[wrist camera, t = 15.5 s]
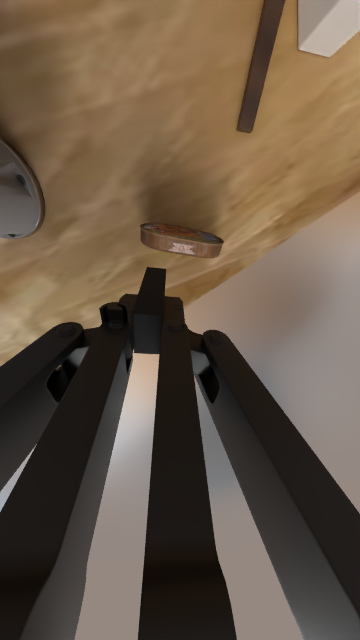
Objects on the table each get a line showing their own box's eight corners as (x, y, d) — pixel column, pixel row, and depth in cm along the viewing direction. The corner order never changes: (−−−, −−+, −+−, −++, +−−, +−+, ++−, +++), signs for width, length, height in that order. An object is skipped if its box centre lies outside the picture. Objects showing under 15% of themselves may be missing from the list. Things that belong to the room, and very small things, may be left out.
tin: (218, 234, 35) (230, 243, 28) (214, 250, 37) (223, 262, 30) (144, 220, 33) (136, 225, 26) (143, 237, 35) (135, 247, 28)
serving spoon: (261, 135, 27) (264, 133, 26) (224, 128, 26) (226, 125, 25) (349, -183, 15) (361, -209, 14) (286, -209, 15) (295, -238, 14)
